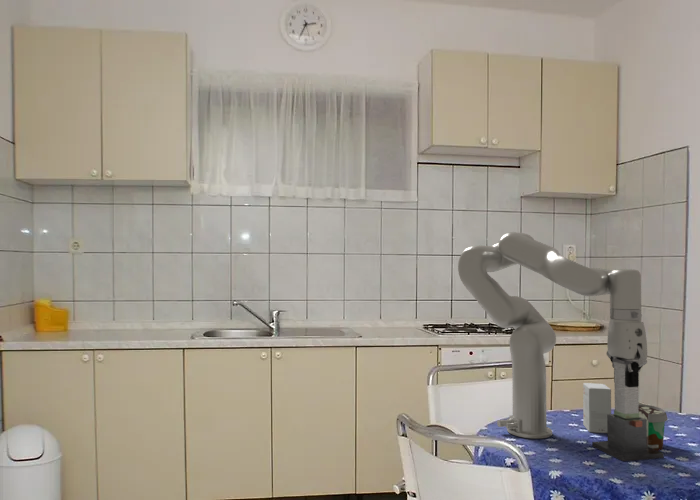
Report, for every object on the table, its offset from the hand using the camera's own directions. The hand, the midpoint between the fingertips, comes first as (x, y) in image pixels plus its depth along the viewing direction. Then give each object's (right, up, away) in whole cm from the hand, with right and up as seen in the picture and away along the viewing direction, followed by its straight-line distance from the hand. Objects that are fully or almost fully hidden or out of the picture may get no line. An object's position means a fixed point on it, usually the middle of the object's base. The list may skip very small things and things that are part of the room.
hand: (626, 384), depth 149 cm
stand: (0, -18, -1) cm, 18 cm away
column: (0, -10, 0) cm, 10 cm away
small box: (+1, -19, +20) cm, 28 cm away
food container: (+10, -18, +4) cm, 21 cm away
